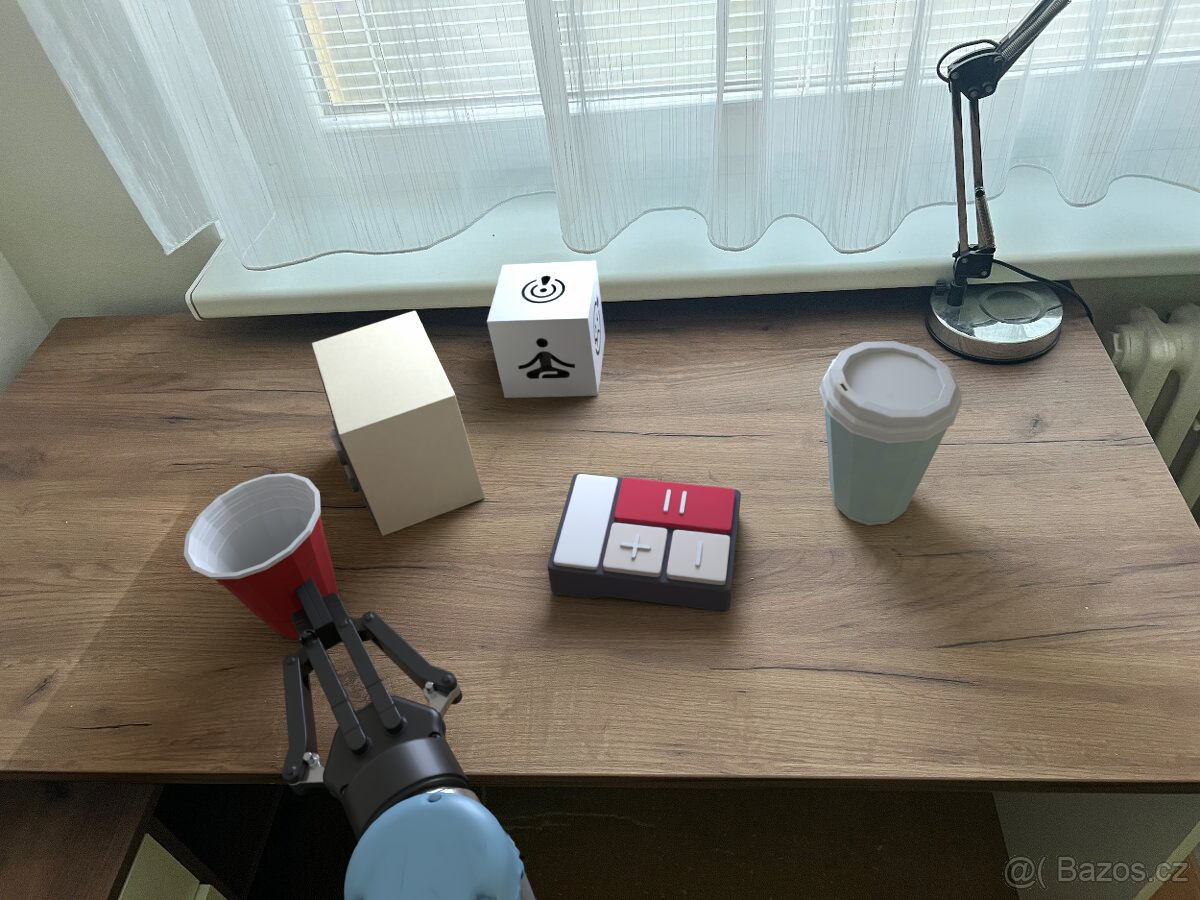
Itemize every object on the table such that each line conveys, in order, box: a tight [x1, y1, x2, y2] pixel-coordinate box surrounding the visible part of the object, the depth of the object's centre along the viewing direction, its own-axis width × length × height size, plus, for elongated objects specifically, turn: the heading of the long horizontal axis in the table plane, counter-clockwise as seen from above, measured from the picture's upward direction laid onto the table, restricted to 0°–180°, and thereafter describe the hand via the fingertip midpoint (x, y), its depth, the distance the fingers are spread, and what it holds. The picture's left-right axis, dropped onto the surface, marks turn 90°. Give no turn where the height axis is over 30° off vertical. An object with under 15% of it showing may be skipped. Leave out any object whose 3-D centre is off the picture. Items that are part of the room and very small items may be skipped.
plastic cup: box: [183, 472, 340, 640], centre depth 71 cm, size 11×11×12 cm
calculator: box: [547, 472, 742, 612], centre depth 75 cm, size 11×4×15 cm
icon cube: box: [486, 260, 606, 399], centre depth 92 cm, size 10×10×10 cm
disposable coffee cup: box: [818, 340, 963, 526], centre depth 72 cm, size 11×11×15 cm
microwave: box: [311, 310, 485, 537], centre depth 82 cm, size 11×14×13 cm
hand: (302, 579), depth 70 cm, fingers closed
